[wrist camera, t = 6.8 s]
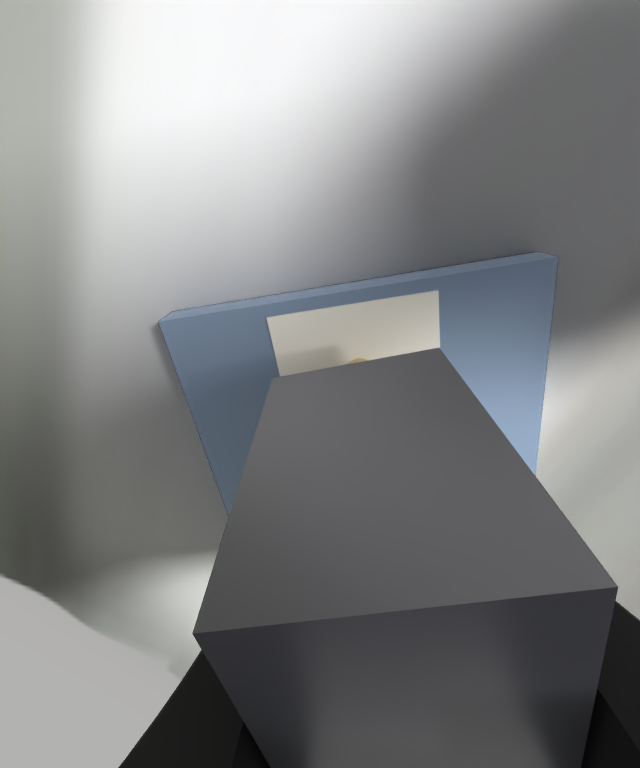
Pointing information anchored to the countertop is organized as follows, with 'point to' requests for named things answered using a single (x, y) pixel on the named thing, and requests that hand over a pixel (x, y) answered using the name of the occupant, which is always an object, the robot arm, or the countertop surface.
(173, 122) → the countertop surface
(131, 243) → the countertop surface
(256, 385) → the header board
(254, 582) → the block
